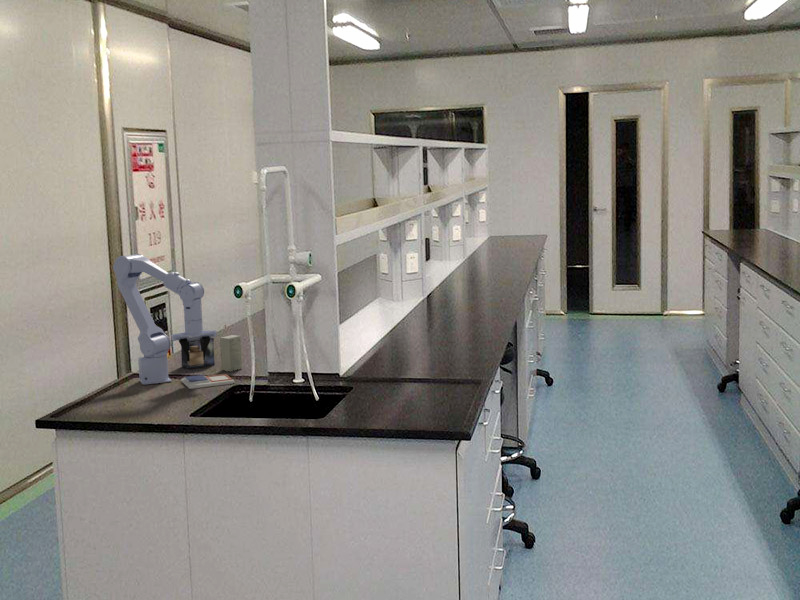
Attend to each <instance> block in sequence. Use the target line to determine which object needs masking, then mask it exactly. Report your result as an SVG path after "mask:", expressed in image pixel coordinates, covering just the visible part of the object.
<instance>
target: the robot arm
mask: <svg viewBox="0 0 800 600" xmlns="http://www.w3.org/2000/svg"><path fill="white" fill-rule="evenodd" d="M112 270H113V272H114V273H115V277H116V278H115V279H116V284H117V285H116V286H117V289H118V290H119V292H120V293H121V296H122V297H123V300H124V302H125V305H126V306H127V308H128V310H129V312H130V314H131V316H132V318H133V320H134V322H135V324H136V327H137V328H138V331H139V335H138V337H137V341H138V343H139V350H140V353H142V355H143V356H140V357H138V360H137V361H138V364H137V365H138V376H139V378H138V379H139V382H140V383H141V385H143V386H145V385H153V384H159V383H160V384H163V383H170V382H172V381H173V380H172V379H171V378H170V377H169V363H168V362H169V361H168V354H169V350H170V349H171V347H172V342H175V341H178V343H179V344H180V347H181V346H182V348H183V351H184V353H185V357H186V361H190V357H189V342H188V340H187V339H195V338H200V344H201V351H203V360H205V354H206V350H207V347H208V345H209V342H210V338H209V337H212V338H217V336H218V335H217V330H216V329H215V330H204V329H203V328H204V327H203V308H202V298H203V297H204V296H205V295H204V294H205V288H204V287H203V285H202V284H201V283H199V281H198V282H197V281H194V282H192V281H191V279H187V278H185V277H183V276H182V275H180V272H178V271H175V272H174V271H170V272H168V271H167V270H165V269H164V268H162V267H160V266H158V264H156V263H154V262H153V261H151V260H149V258H148V257H147V256H144V255H142V254H140V253H135V254H129V255H120V256H118V257H116V258H115V260H114V263H113V266H112ZM143 273H145V274H147V275H149V276H151V277H153V278H155V279H156V280H159V281H160V282H162V283H163V286H164V288H166V289H167V290H170V291H172V292H173V293H175V294H177V295H178V296H179V298H180V300H181V301H182V306H183V315H184V332H179V333H172V334H171V335H170V337H171V338H170V337H169V335H167V334H166V333H165V331H164V329H162V327H160V326H158V325H156V324H155V321H154V319H153V317H152V315H151V313H150V311H149V309H148V307H147V305H146V303H145V301H144V299H143V296H142V294H141V293H140V290H139V289H138V286H137V285H136V284H137V281H138V279H139V278H140V276H141V275H142V274H143ZM171 341H172V342H171Z"/></svg>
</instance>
